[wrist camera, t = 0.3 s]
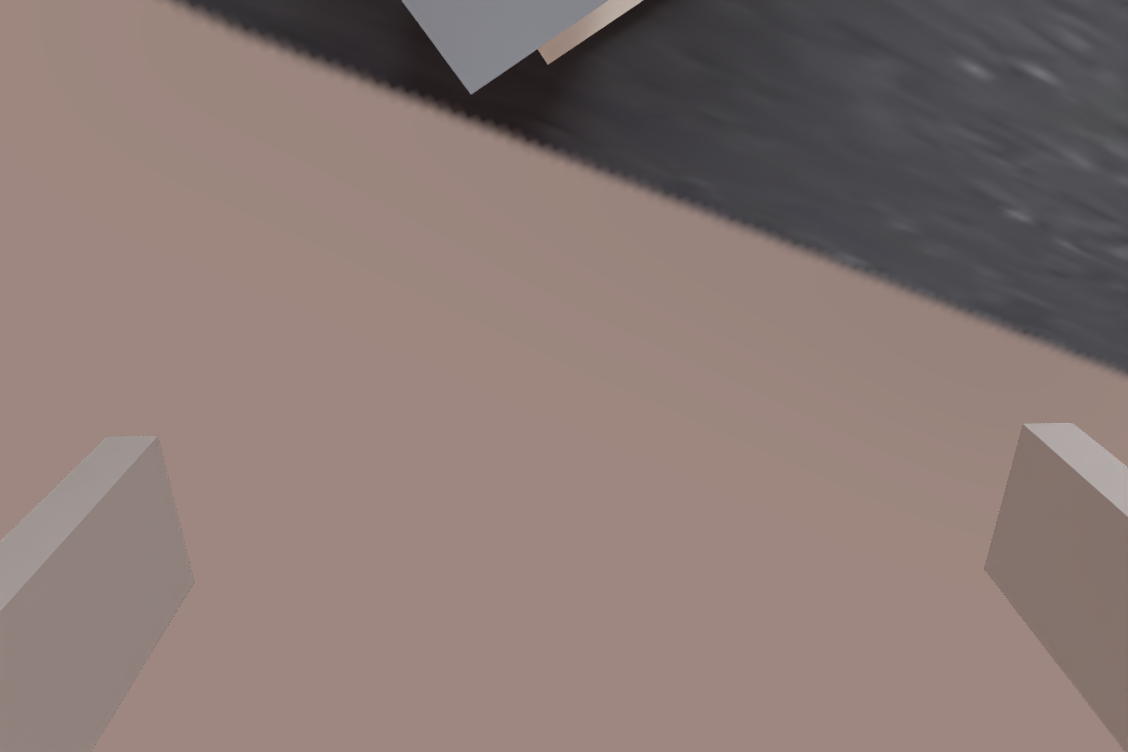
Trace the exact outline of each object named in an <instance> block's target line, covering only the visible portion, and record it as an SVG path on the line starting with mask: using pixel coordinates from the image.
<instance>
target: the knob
mask: <svg viewBox="0 0 1128 752" xmlns="http://www.w3.org/2000/svg"><path fill="white" fill-rule="evenodd" d="M607 1H608V0H402V2H403V3H404V5H405V6H406V7H407V9H408V10H409V11H410V13H411V14H412V15H413V17H414V18H415V19H416V21H417V22H418V24H419V25H420V26H421V28H422V29H423V30H424V32H425V33H426V34H427V36H428V37H429V38H430V40H431V41H432V42H433V44H434V45H435V47H436V48H437V49H438V51H439V52H440V53H441V55H442V56H443V57H444V59H445V60H446V61H447V63H448V64H449V66H450V67H451V68H452V70H453V71H454V72H455V74H456V75H457V76H458V78H459V79H460V80H461V82H462V83H463V85H464V86H465V87H466V89H467V90H468V91H469V93H470V94H473V93H474V92H476V91H477V90H479V89H480V88H481V87H483V86H484V85H486V84H487V83H489V82H490V81H492V80H493V79H495V78H496V77H497V76H499V75H500V74H502V73H503V72H505V71H506V70H508V69H509V68H511V67H512V66H513V65H515V64H516V63H518V62H519V61H521V60H522V59H524V58H525V57H527V56H528V55H529V54H531V53H532V52H534V51H535V50H537V49H538V48H540V47H541V46H543V45H544V44H545V43H547V42H548V41H550V40H551V39H553V38H554V37H556V36H557V35H559V34H560V33H561V32H563V31H564V30H566V29H567V28H569V27H570V26H572V25H573V24H575V23H576V22H577V21H579V20H580V19H582V18H583V17H585V16H586V15H588V14H589V13H591V12H592V11H593V10H595V9H596V8H598V7H599V6H601V5H602V4H604V3H605V2H607Z"/></svg>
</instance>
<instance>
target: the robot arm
mask: <svg viewBox="0 0 1128 752" xmlns="http://www.w3.org/2000/svg"><path fill="white" fill-rule="evenodd" d="M984 570H985V571H986V572H987V573H988V575H989V576H990V577H991V579H992V580H993V581H994V582H995V584H996V585H997V586H998V588H999V589H1000V590H1001V592H1002V593H1003V594H1004V595H1005V597H1006V598H1007V599H1008V601H1009V602H1010V603H1011V605H1012V606H1013V607H1014V609H1015V610H1016V611H1017V612H1018V614H1019V615H1020V616H1021V617H1022V619H1023V620H1024V621H1025V623H1026V624H1027V625H1028V627H1029V628H1030V629H1031V631H1032V632H1033V633H1034V634H1035V636H1036V637H1037V638H1038V640H1039V641H1040V642H1041V644H1042V645H1043V646H1044V647H1045V649H1046V650H1047V651H1048V653H1049V654H1050V655H1051V657H1052V658H1053V659H1054V660H1055V662H1056V663H1057V664H1058V666H1059V667H1060V668H1061V669H1062V671H1063V672H1064V673H1065V675H1066V676H1067V677H1068V679H1069V680H1070V681H1071V682H1072V684H1073V685H1074V686H1075V688H1076V689H1077V690H1078V691H1079V693H1080V694H1081V695H1082V697H1083V698H1084V699H1085V701H1086V702H1087V703H1088V705H1089V706H1090V707H1091V708H1092V710H1093V711H1094V712H1095V714H1096V715H1097V716H1098V717H1099V719H1100V720H1101V721H1102V723H1103V724H1104V725H1105V726H1106V728H1107V729H1108V730H1109V732H1110V733H1111V734H1112V736H1113V737H1114V738H1115V739H1116V741H1117V742H1118V743H1119V745H1120V746H1121V747H1122V749H1123V750H1124V751H1125V752H1128V467H1127V466H1125V465H1124V464H1123V463H1122V462H1120V461H1119V460H1118V459H1117V458H1115V457H1114V456H1113V455H1112V454H1110V453H1109V452H1108V451H1107V450H1105V449H1104V448H1103V447H1102V446H1100V445H1099V444H1098V443H1097V442H1095V441H1094V440H1093V439H1092V438H1090V437H1089V436H1088V435H1087V434H1085V433H1084V432H1083V431H1082V430H1080V429H1079V428H1078V427H1077V426H1076V425H1074V424H1073V423H1046V424H1045V423H1043V424H1042V423H1039V424H1023V425H1022V429H1021V433H1020V436H1019V440H1018V444H1017V447H1016V451H1015V455H1014V459H1013V462H1012V467H1011V470H1010V474H1009V478H1008V481H1007V485H1006V489H1005V492H1004V496H1003V500H1002V504H1001V507H1000V511H999V515H998V519H997V522H996V526H995V530H994V534H993V538H992V542H991V545H990V549H989V552H988V556H987V560H986V564H985V567H984ZM193 584H194V578H193V574H192V570H191V566H190V562H189V558H188V554H187V550H186V546H185V542H184V538H183V534H182V530H181V526H180V522H179V518H178V515H177V510H176V506H175V502H174V498H173V494H172V490H171V486H170V482H169V478H168V474H167V470H166V466H165V462H164V458H163V454H162V450H161V446H160V443H159V438H158V436H107V437H106V438H105V439H103V441H101V442H100V443H99V444H98V445H97V446H96V447H95V448H94V449H93V450H92V451H91V452H90V453H89V454H88V455H87V456H86V457H85V458H84V459H83V460H82V461H81V462H80V463H79V464H78V465H77V466H76V467H75V468H74V469H73V470H72V471H71V472H70V473H69V474H68V475H67V476H66V477H65V478H64V479H63V480H62V481H61V482H60V483H59V484H58V485H57V486H56V487H55V488H54V489H53V490H52V491H51V492H50V493H49V494H48V495H47V496H46V497H45V498H44V499H43V500H42V501H41V502H40V503H39V504H38V505H37V506H36V507H35V508H34V509H33V510H31V511H30V512H29V513H28V514H27V515H26V516H25V517H24V518H23V520H21V521H20V522H19V523H18V524H17V525H16V526H15V527H14V528H13V529H12V530H11V531H10V532H9V533H8V534H7V535H6V536H5V537H4V538H3V539H2V540H1V541H0V752H91V751H92V750H93V748H94V746H95V745H96V743H97V741H98V740H99V738H100V737H101V735H102V733H103V732H104V730H105V728H106V727H107V725H108V723H109V722H110V720H111V718H112V717H113V715H114V713H115V712H116V710H117V709H118V707H119V705H120V703H121V702H122V700H123V698H124V697H125V695H126V693H127V692H128V690H129V689H130V687H131V686H132V684H133V682H134V681H135V679H136V677H137V676H138V674H139V672H140V671H141V669H142V667H143V666H144V664H145V662H146V661H147V659H148V658H149V656H150V654H151V653H152V651H153V649H154V648H155V646H156V644H157V643H158V641H159V639H160V638H161V636H162V635H163V633H164V631H165V629H166V628H167V626H168V625H169V623H170V621H171V620H172V618H173V617H174V615H175V613H176V612H177V610H178V608H179V607H180V605H181V603H182V602H183V600H184V598H185V597H186V595H187V594H188V592H189V590H190V589H191V587H192V585H193Z"/></svg>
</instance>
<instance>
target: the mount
mask: <svg viewBox="0 0 1128 752" xmlns="http://www.w3.org/2000/svg"><path fill="white" fill-rule="evenodd" d="M642 1H643V0H608V1H607V2H605V3H604V4H602V5H601V6H599V7H598V8H596V9H595V10H593V11H592V12H591V13H589V14H588V15H586V16H585V17H583V18H582V19H580V20H579V21H577V22H576V23H575V24H573V25H572V26H570V27H569V28H567V29H566V30H564V31H563V32H561V33H560V34H559V35H557V36H556V37H554V38H553V39H551V40H550V41H548V42H547V43H545V44H544V45H543V46H541V47H540V48H538V51H539V52H540V54H541V55H542V57H543V58H544V60H545V61H546V63H547V64H550V63H551V62H553V61H554V60H556V59H557V58H559V57H560V56H562V55H563V54H565V53H566V52H567V51H569V50H570V49H572V48H573V47H575V46H576V45H578V44H579V43H581V42H582V41H584V40H585V39H587V38H588V37H590V36H591V35H593V34H594V33H596V32H597V31H599V30H600V29H602V28H603V27H605V26H606V25H607V24H609V23H610V22H612V21H613V20H615V19H616V18H618V17H619V16H621V15H622V14H624V13H625V12H627V11H628V10H630V9H631V8H633V7H634V6H636V5H637V4H639V3H640V2H642Z"/></svg>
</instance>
